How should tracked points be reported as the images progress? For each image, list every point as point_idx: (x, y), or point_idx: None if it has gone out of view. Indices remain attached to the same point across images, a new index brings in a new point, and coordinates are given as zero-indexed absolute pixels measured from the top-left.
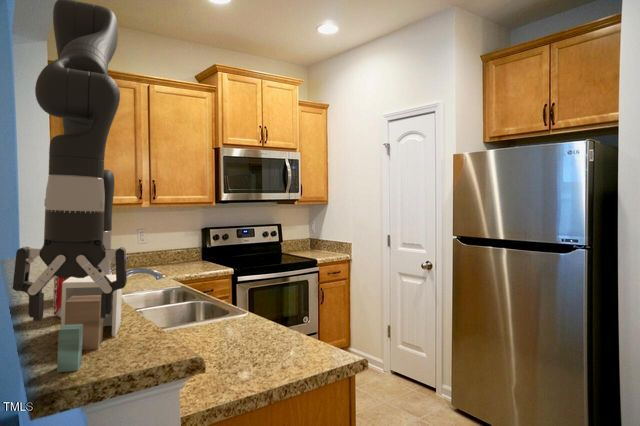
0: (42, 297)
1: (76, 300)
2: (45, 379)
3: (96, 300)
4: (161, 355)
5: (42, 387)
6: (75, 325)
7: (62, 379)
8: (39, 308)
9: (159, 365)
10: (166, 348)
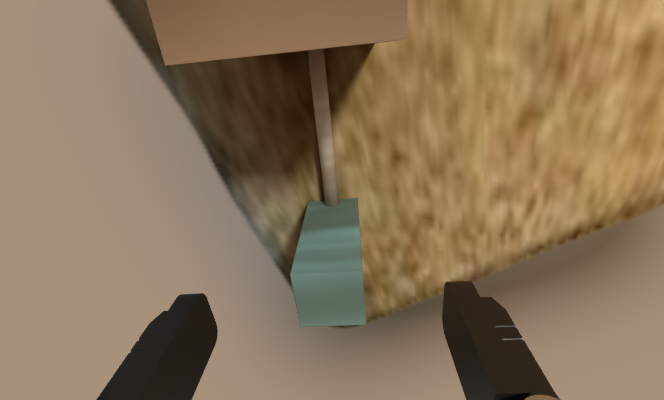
0: (159, 391)
1: (220, 11)
2: None
3: (377, 23)
4: (591, 147)
5: None
6: (339, 285)
7: None
8: (196, 379)
9: (565, 232)
10: (630, 65)
